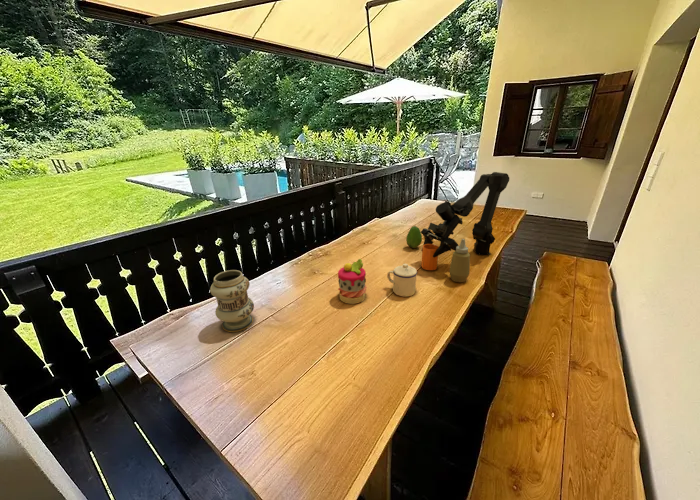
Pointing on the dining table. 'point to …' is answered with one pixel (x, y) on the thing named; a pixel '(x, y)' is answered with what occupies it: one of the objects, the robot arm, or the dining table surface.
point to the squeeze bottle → (460, 263)
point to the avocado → (414, 237)
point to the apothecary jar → (232, 300)
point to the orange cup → (429, 257)
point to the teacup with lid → (403, 280)
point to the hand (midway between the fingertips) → (427, 254)
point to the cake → (352, 282)
